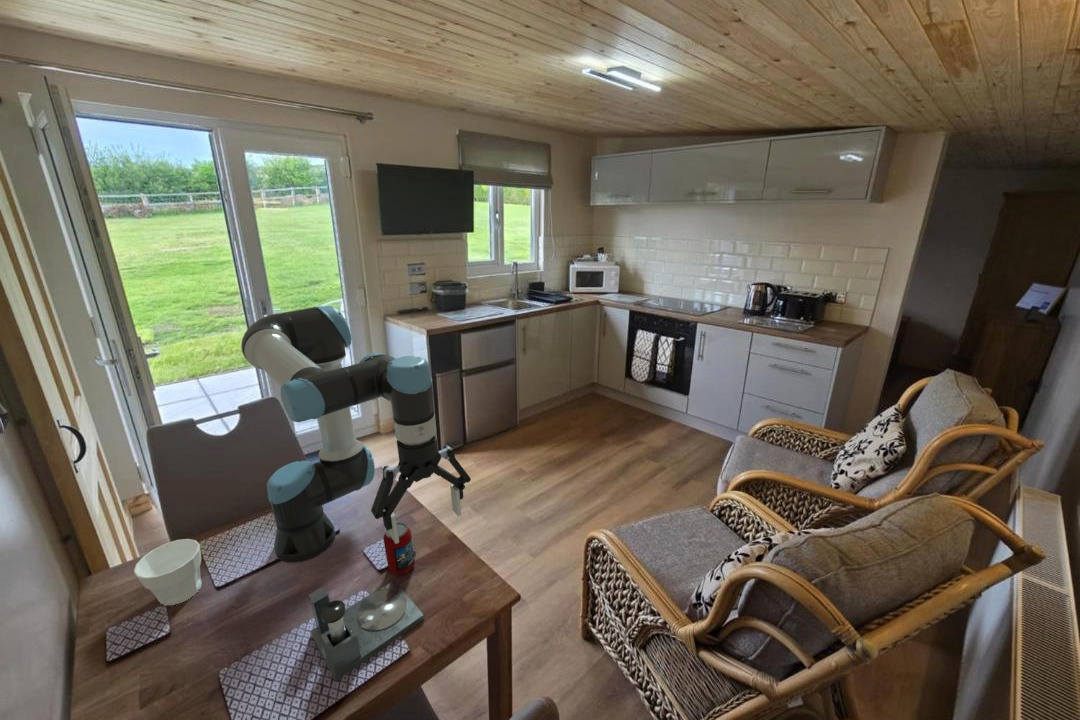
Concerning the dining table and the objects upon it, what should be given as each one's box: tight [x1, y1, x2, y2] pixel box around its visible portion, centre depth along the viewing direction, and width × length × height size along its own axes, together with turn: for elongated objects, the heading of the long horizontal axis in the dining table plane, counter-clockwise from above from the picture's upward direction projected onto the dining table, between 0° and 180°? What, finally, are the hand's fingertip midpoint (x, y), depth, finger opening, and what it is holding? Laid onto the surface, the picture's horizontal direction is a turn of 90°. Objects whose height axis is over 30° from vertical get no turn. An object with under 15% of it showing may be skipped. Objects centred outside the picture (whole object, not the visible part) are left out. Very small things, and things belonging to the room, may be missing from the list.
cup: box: [133, 538, 203, 605], centre depth 109 cm, size 12×12×11 cm
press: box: [308, 579, 425, 683], centre depth 99 cm, size 14×20×10 cm
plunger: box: [321, 599, 347, 647], centre depth 90 cm, size 4×4×9 cm
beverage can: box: [383, 522, 416, 575], centre depth 116 cm, size 7×7×12 cm
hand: (427, 525), depth 94 cm, fingers open, 13 cm apart
